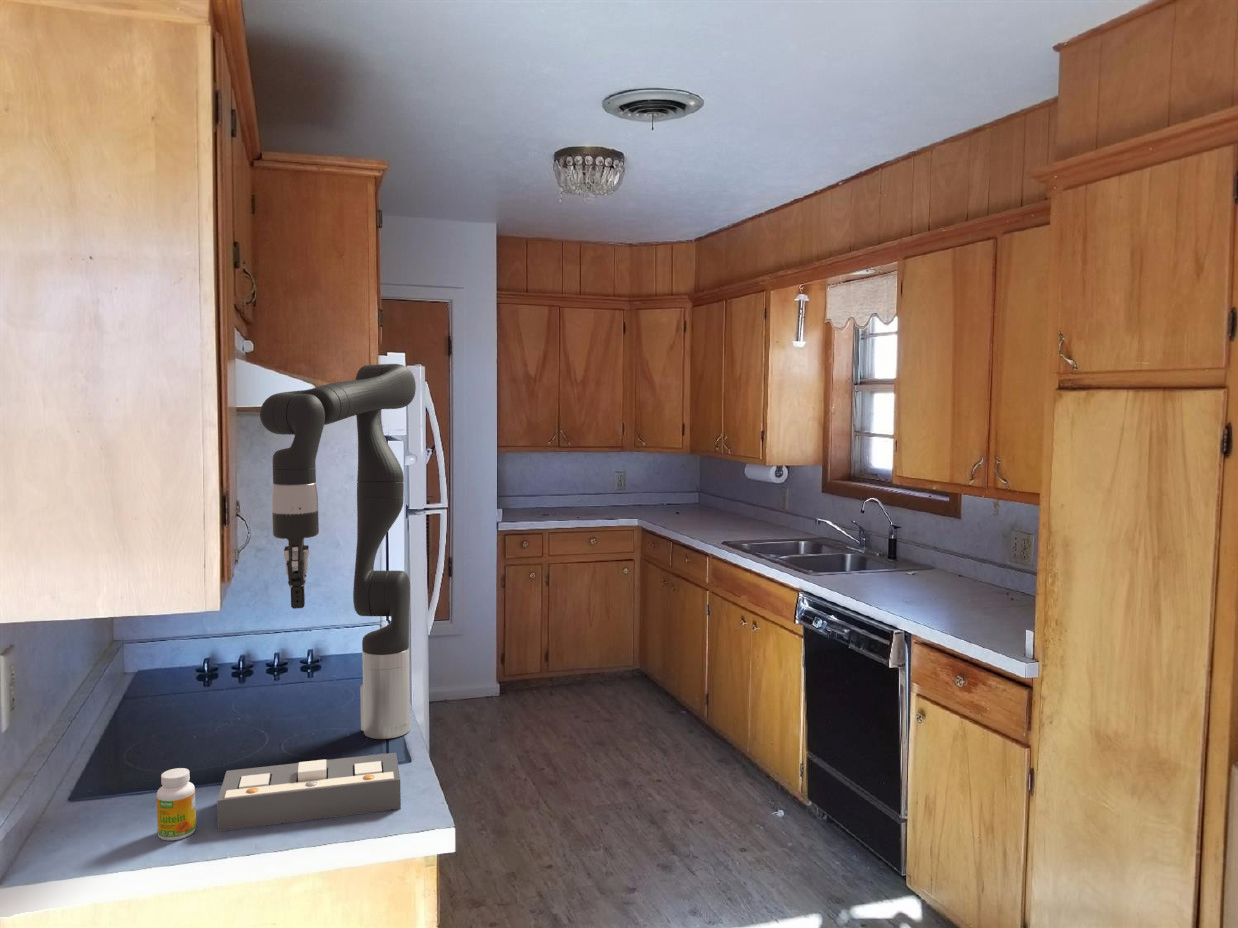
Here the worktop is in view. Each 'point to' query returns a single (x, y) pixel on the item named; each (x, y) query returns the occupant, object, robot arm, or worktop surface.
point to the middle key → (312, 770)
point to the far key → (368, 768)
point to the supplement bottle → (176, 805)
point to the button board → (308, 793)
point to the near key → (255, 781)
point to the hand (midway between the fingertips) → (298, 607)
